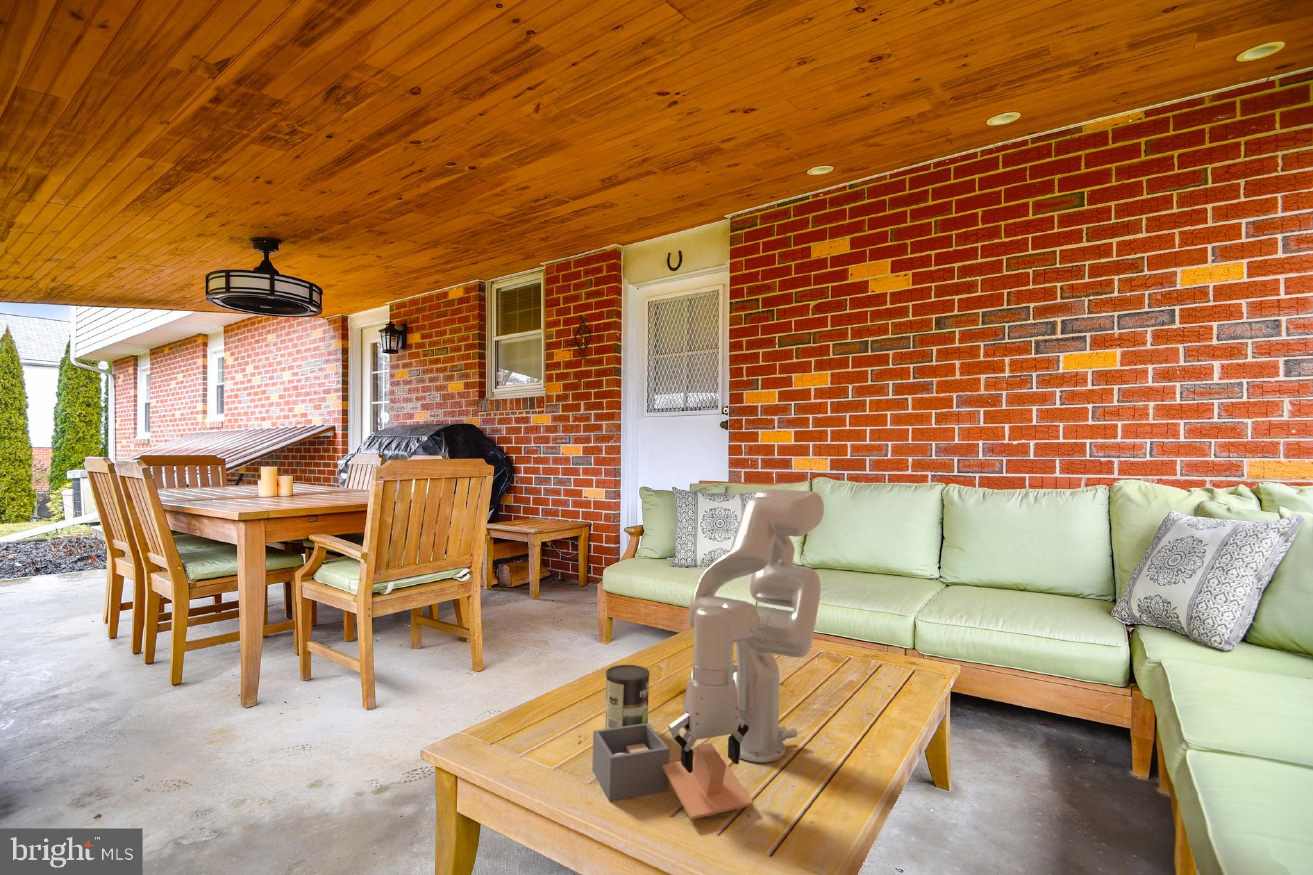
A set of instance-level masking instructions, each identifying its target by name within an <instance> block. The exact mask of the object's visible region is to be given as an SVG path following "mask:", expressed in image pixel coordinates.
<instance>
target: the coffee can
mask: <svg viewBox="0 0 1313 875" xmlns="http://www.w3.org/2000/svg"><path fill="white" fill-rule="evenodd" d="M605 680H606V681H605V718H604V720H605V721H604V729H609V728H616V727H623V726H630V725H636V724H643V723H649V690H650V689H649V684H650V683H649V682H650V670H649V669H648V668H646V667H645V666H641V665H640V666H639V665H635V664H619V665H614V666H611V667H609V668H607V670H606V671H605Z"/></svg>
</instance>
